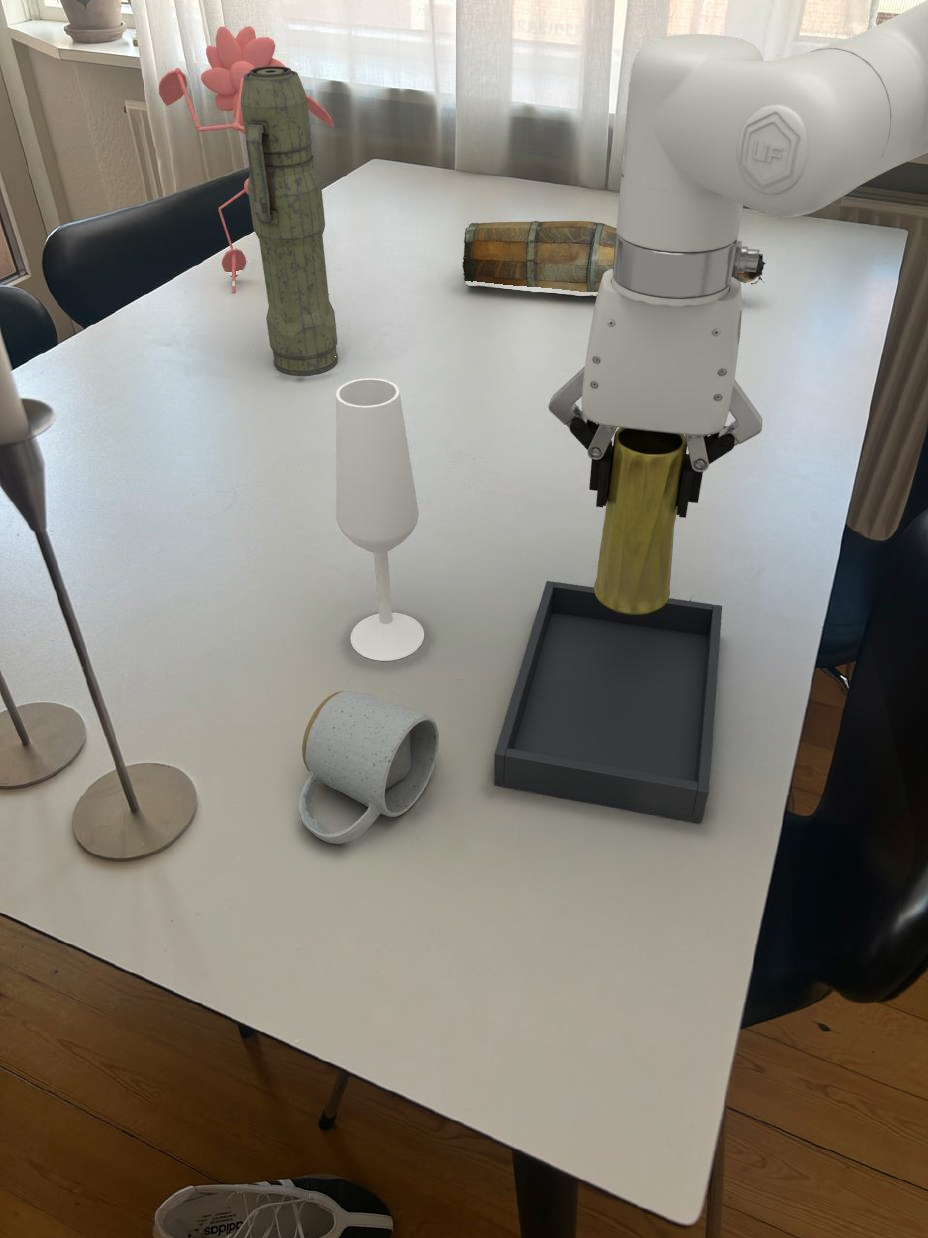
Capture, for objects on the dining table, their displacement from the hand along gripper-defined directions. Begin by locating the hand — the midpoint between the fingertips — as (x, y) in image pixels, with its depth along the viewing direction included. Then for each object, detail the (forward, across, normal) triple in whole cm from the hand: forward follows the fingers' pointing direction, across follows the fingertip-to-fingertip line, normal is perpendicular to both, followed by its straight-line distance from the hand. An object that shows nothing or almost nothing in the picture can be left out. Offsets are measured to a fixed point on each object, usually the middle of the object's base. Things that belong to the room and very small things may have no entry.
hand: (642, 500), depth 73 cm
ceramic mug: (+17, +17, +19) cm, 31 cm away
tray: (+17, 0, +5) cm, 18 cm away
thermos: (+17, +49, -51) cm, 73 cm away
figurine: (+17, +65, -79) cm, 103 cm away
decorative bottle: (+17, +12, -83) cm, 86 cm away
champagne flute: (+17, +21, +1) cm, 27 cm away
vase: (+9, 0, 0) cm, 9 cm away
